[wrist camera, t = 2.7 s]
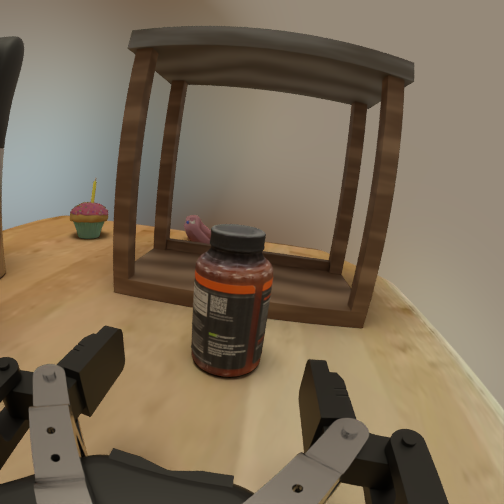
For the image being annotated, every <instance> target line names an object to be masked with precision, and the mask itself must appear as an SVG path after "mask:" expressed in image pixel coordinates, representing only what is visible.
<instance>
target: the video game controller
mask: <svg viewBox="0 0 504 504" xmlns="http://www.w3.org/2000/svg"><path fill="white" fill-rule="evenodd" d="M184 227H185V231H186V234H187V236H188V238H189V240H190V241H192V242H200V243H207V244H210V238H211V231H210V230H209V229H208V228H207V227H206V226H205V225H204V224H203V223H202V222H201V219H200V218H199V217H198V216H197V215H191V216H188V217H186V223H185V224H184Z"/></svg>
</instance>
